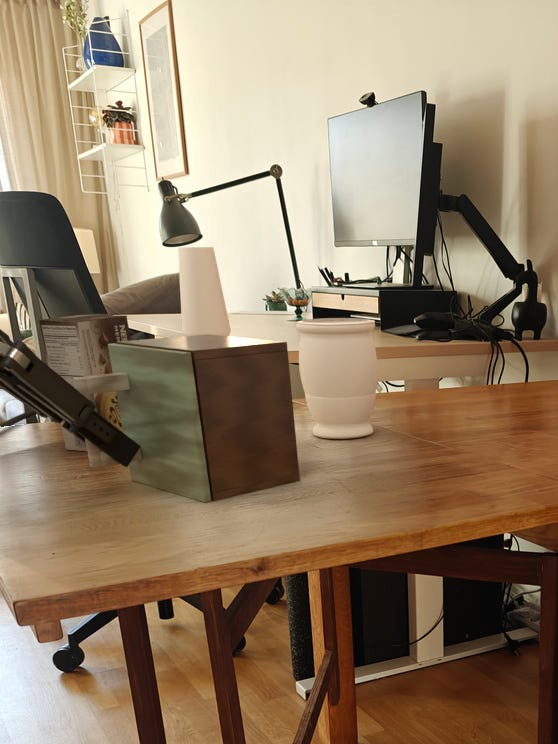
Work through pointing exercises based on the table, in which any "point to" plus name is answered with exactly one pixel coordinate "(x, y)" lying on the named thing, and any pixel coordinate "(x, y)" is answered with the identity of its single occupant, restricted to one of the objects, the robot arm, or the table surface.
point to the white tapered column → (201, 293)
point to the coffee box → (85, 357)
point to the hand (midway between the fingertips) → (126, 454)
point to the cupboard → (241, 410)
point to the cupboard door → (155, 418)
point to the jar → (339, 375)
